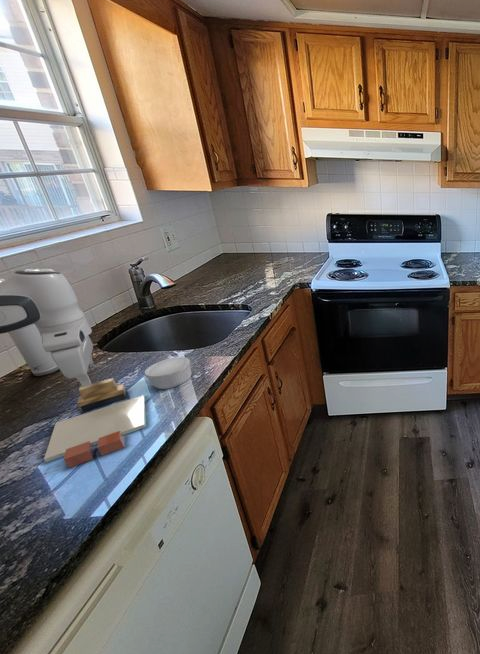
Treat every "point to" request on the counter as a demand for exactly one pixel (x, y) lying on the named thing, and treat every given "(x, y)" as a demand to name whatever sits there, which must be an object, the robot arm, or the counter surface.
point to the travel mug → (33, 350)
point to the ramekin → (169, 372)
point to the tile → (96, 426)
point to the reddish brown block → (79, 454)
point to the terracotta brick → (111, 443)
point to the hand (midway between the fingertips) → (89, 377)
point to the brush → (100, 394)
